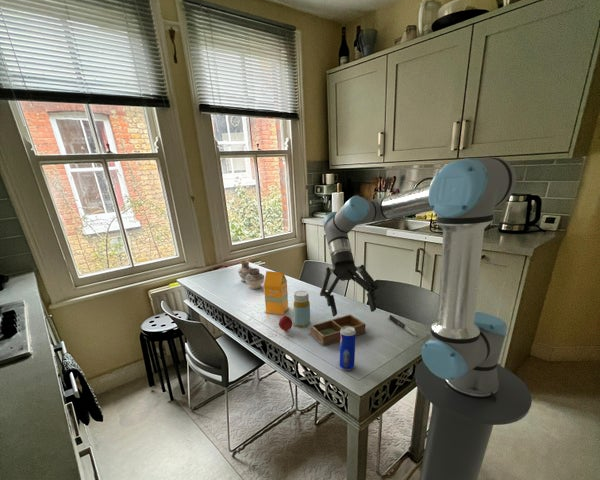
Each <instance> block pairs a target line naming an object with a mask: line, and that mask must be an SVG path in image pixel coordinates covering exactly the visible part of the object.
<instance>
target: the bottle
mask: <svg viewBox="0 0 600 480" xmlns="http://www.w3.org/2000/svg"><path fill="white" fill-rule="evenodd" d="M309 297H310V296H309V292H308V291H307V290H297V291H295V292H294V293H293V298H294V300H293V318H294V325H295V326H296V327H297V328H307V327H308V326H309V325H310V324H311V303H310V300H309Z"/></svg>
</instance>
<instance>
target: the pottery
mask: <svg viewBox="0 0 600 480" xmlns="http://www.w3.org/2000/svg"><path fill="white" fill-rule="evenodd" d="M240 264H241V267H239V269H238V270H237V273H238V275H239V277H240V278H241V281H242V282H245V283H246V284H247V285H248V286H249V287H250V289H252V290H257V289H260V288H261V285H262V284H264V282H265V275H264V274H263V273H260V268H257V267H251V266H250V261H249V260H247V259H245V260H244V259H243V260H240Z"/></svg>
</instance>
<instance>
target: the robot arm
mask: <svg viewBox="0 0 600 480" xmlns="http://www.w3.org/2000/svg"><path fill="white" fill-rule="evenodd" d="M516 186H517V173H516V170H515V167H514V166H512V164H511V163H510V162H509V161H508V160H506V159H504V158H500V157H471V158H470V157H469V158H467V157H466V158H463V159H459V160H454V161H451V162H449V163H447V164H445V165H444V166H442V167H441V168H440V169H439V170H438V172H437V173H435V175H434V176H433V178H432V180H431V182H430V184H427V185H423V186H420V187H419V186H418V187H415V188H412V189H409V190H405V191H401V192H398V193H393V194H390V195H385V196H383V197H382V196H381V197H379V198H374V199H369V200H368V199H366V198H365V197H362V196H360V195H353V196H352V197H350V198H349V199H348V200H347V201H345V203H344V204H343V205H342V206H341V207H340V209H339V210H338V211H332V212H329V214H326V215H325V216H324V217H323V221H322V223H323V231H324V233H325V239H326V242H327V246H328V251H329V256H330V260H331V265H332V268H330V266H328V267H326V269H325V270H324V278H323V282H322V286H321V289H320V292H319V296H320V297H324V298H325V299H326V303H327V307H330V310H331V315H332V317H336V316H337V315H338V310H337V306H336V300H335V296H334V294H332V293H333V292H334V289H335V288H336V286H337V284H338V283H339V282H340V281H341V282H345V281H353V282H355V283H357V284H358V285H359V286H360V287H361V288H362V289H364V290H365V291H366V292H367V293H366V297H367V301H368V305H369V309H370V312H371V313H372V312H373V313H374V312H375V311H376V310H377V307H376V302H375V301H376V300H377V297H376V293H375V292H376V291H377V290H378V289H379V287H380V286H379V285H378V284H377V283H376V281H375V280H374V278H373V277H372V276H371V275H370V274H369V272H368V271H367V269H366V267H365V265H364V264H360V265H359V266H356V264H355V260H354V259H355V258H354V255H353V253H352V251H353V250H352V247H351V242H350V239H349V233H350V232H352V230H353V229H354V228H355V227H357V226H360V225H365V224H370V223H376V222H381V221H387V220H390V219H397V218H401V217H406V216H407V217H408V216H413V215H418V214H423V213H429V212H434V213H435V214H436V224H437V226H439V227H440V228H441V229H442V245H441V246H442V248H441V260H440V261H441V263H440V275H439V276H440V279H439V294H438V296H439V297H438V309H437V311H438V313H437V320H435V321H434V322H432V324H431V326H430V339H429V340H427V341H426V342H424V344H422V347H421V350H420V351H421V352H420V353H421V359H422V360H423V361H424V363H425V365H426V366H427V367H428V368H429V370H430V371H431V372H432V373H433V374H435V375H436V376H438V377H440V378H442V379H444V381H445V383H446V384H447V385H448V386H449V387H450V388H451V389H452V390H454V391H456V392H457V393H459V394H462V395H464V396H467V397H471V398H479V399H484V398H490V397H493V398H494V400H495V399H497V397H496V396H495V394H496V393H497V391H498V387H499V381H498V375H497V368H496V367H497V364H498V363H499V360H500V357H501V352H502V349H503V346H504V342H505V338H506V336H507V329H508V325H507V323H506V322H505V321H504V320H503V319H502V318H500V317H497V316H495V315H492V314H489V313H486V312H480V311H479V312H478V311H476V309H477V300H478V292H479V283H480V282H479V281H480V273H481V262H482V254H483V244H484V235H485V229H486V228H487V227H488V226H489V225H490V224H492V223H493V221H494V215H495V208H496V207H499V206H500V205H502V204H503V203H505V202H506V201H507V200H508V199H509V198H510V197H511V195H512V193H514V190H515V188H516ZM332 274H333V275H334V276H335V278H334V280H333V282H332V283H331V286H330V287H329V289H328V290H327V288H328V284H329V281H330V277H331V275H332Z"/></svg>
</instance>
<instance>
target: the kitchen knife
mask: <svg viewBox="0 0 600 480" xmlns="http://www.w3.org/2000/svg"><path fill="white" fill-rule="evenodd" d="M389 320H390V321H393V322H394V323H395V324H396V325H397V326H399V327H401V328H403V330H405V331H407V332H409V334H411V335H413V336H415V337H417V336H418V335H417V334H416V332H415V331H413V330H412V329H411V328H410V327H408V326H407V325H406V324H405V323H403V321H401V320H400V319H398V318H396V317H394V316H393V315H391V314H389Z"/></svg>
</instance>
